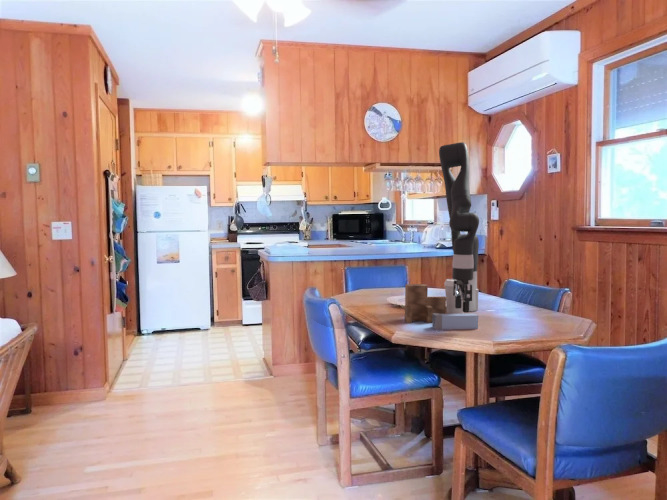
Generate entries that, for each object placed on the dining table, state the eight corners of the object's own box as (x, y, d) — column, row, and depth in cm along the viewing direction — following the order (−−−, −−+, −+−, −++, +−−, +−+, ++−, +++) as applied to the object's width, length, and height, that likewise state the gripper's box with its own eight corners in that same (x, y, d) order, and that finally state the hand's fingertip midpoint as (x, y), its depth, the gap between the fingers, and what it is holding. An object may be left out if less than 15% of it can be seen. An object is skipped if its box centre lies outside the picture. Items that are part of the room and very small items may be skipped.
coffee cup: (462, 319, 200) (463, 282, 199) (439, 316, 205) (440, 280, 204) (469, 315, 208) (470, 279, 207) (447, 312, 213) (448, 278, 212)
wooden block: (443, 318, 202) (444, 284, 201) (449, 322, 194) (450, 286, 193) (402, 318, 200) (402, 284, 199) (407, 323, 192) (407, 287, 192)
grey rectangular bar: (473, 326, 187) (474, 312, 187) (478, 329, 183) (478, 314, 183) (432, 327, 186) (432, 313, 186) (435, 329, 182) (435, 315, 182)
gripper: (479, 268, 177) (478, 313, 178) (466, 265, 191) (465, 306, 192) (459, 268, 176) (458, 313, 177) (447, 264, 190) (446, 307, 191)
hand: (461, 310), depth 184 cm, fingers open, 8 cm apart
